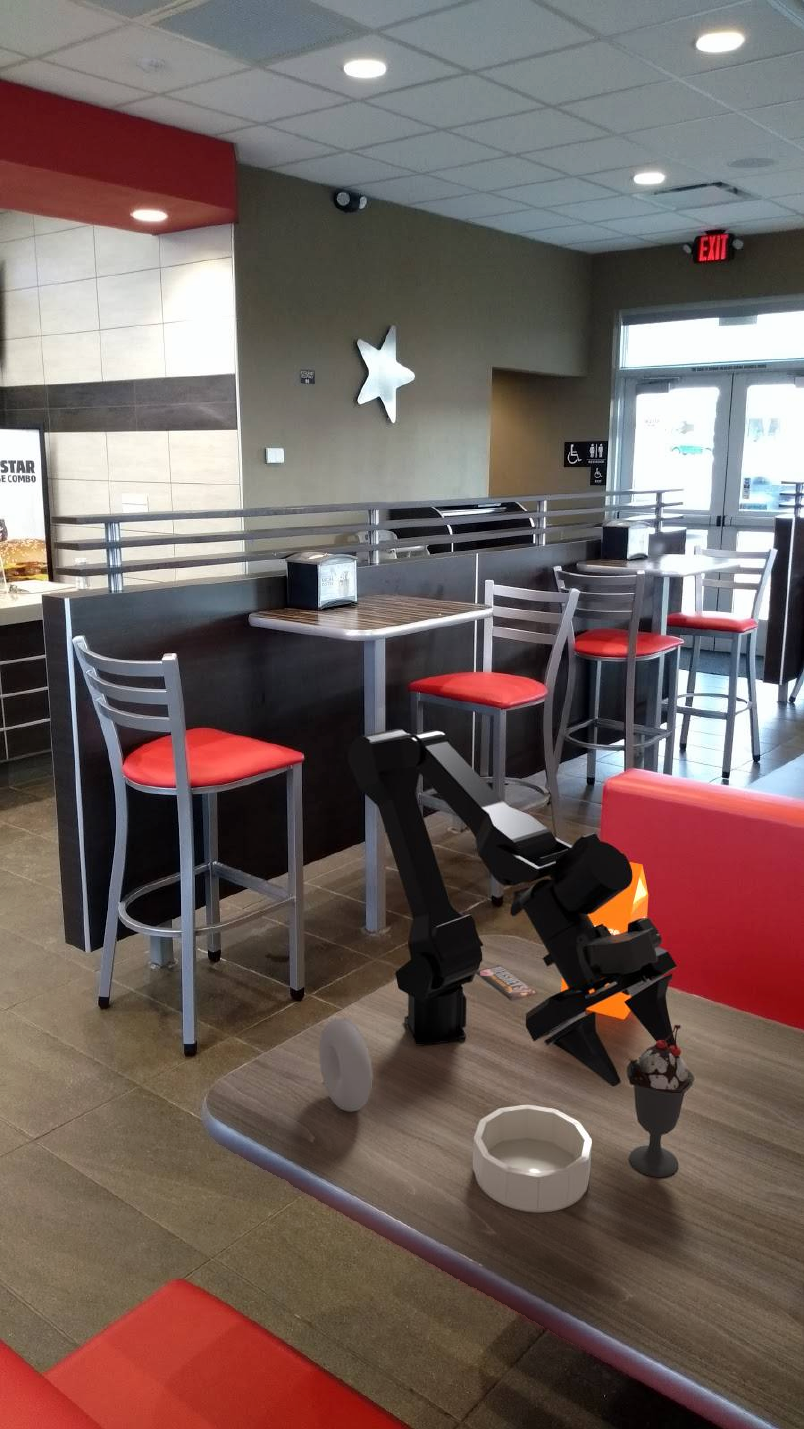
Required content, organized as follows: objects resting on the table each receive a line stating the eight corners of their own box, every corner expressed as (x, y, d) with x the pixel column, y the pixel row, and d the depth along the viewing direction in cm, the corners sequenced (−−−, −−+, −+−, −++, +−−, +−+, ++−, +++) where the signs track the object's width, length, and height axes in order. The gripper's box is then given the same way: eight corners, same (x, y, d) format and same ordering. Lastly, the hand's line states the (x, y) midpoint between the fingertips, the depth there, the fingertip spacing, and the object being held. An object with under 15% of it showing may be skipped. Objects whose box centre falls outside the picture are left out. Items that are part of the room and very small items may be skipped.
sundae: (692, 1151, 112) (703, 1021, 108) (679, 1190, 106) (691, 1053, 102) (629, 1134, 115) (638, 1007, 111) (613, 1171, 109) (622, 1037, 105)
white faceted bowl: (495, 1220, 101) (497, 1184, 101) (460, 1147, 112) (461, 1113, 111) (607, 1202, 104) (609, 1166, 103) (562, 1132, 115) (564, 1099, 114)
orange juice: (624, 1020, 138) (633, 874, 133) (559, 1002, 142) (566, 861, 138) (642, 994, 145) (652, 855, 140) (580, 978, 149) (587, 842, 144)
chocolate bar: (469, 972, 151) (470, 967, 151) (499, 965, 153) (499, 960, 153) (513, 1007, 142) (513, 1002, 142) (543, 999, 144) (544, 994, 144)
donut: (377, 1125, 116) (377, 1041, 113) (347, 1133, 114) (347, 1048, 112) (342, 1077, 125) (342, 999, 122) (314, 1084, 123) (313, 1005, 121)
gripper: (550, 923, 104) (637, 1074, 98) (667, 877, 115) (750, 1009, 110) (491, 969, 111) (568, 1112, 105) (606, 921, 123) (681, 1047, 117)
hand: (645, 1068), depth 109 cm, fingers open, 9 cm apart
